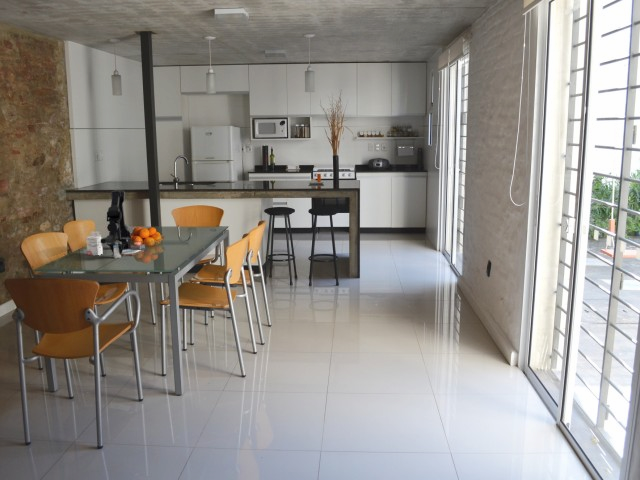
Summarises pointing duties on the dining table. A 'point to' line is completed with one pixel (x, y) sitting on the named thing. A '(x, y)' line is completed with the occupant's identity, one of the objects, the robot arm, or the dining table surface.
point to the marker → (116, 251)
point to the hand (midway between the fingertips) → (117, 254)
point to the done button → (137, 243)
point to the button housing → (138, 247)
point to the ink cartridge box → (94, 244)
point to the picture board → (131, 252)
